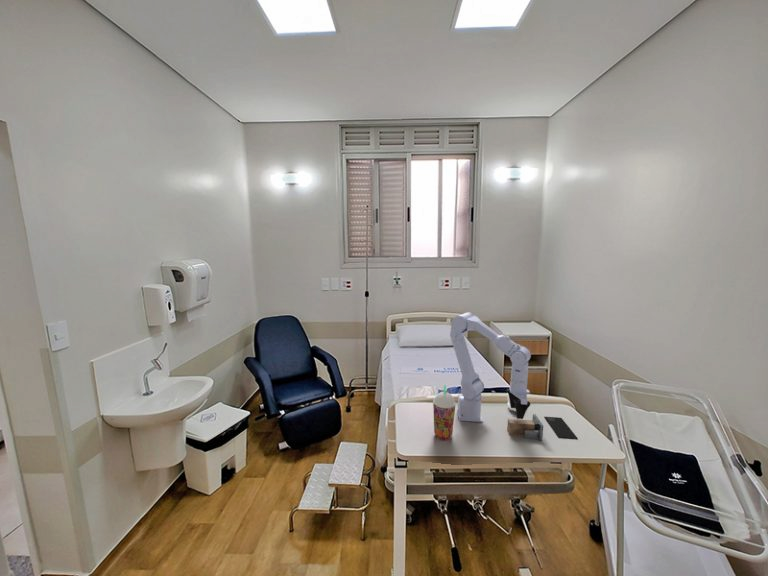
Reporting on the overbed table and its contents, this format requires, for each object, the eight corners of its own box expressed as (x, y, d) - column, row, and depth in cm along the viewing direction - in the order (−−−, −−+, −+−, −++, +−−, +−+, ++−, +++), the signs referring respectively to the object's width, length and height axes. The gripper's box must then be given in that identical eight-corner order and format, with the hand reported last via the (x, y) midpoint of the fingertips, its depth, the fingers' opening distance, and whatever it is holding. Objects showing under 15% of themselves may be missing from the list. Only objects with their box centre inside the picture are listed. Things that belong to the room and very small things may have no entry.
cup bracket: (525, 439, 118) (526, 424, 117) (518, 427, 126) (519, 413, 125) (542, 440, 117) (543, 425, 117) (534, 428, 125) (535, 414, 124)
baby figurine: (517, 417, 134) (506, 399, 136) (506, 413, 146) (495, 396, 147) (534, 406, 135) (522, 388, 137) (521, 403, 147) (510, 387, 149)
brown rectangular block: (509, 435, 121) (510, 423, 120) (507, 430, 124) (507, 418, 123) (533, 436, 120) (534, 424, 119) (530, 432, 123) (531, 420, 122)
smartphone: (579, 440, 118) (561, 418, 133) (579, 438, 118) (561, 416, 133) (558, 439, 119) (542, 417, 134) (558, 437, 119) (542, 415, 134)
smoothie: (428, 436, 119) (429, 386, 117) (438, 426, 126) (440, 379, 123) (448, 445, 114) (450, 393, 112) (458, 434, 121) (460, 385, 118)
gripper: (537, 388, 112) (534, 424, 114) (523, 372, 126) (521, 404, 128) (516, 387, 112) (514, 422, 114) (505, 371, 127) (503, 402, 129)
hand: (516, 412), depth 121 cm, fingers open, 7 cm apart
